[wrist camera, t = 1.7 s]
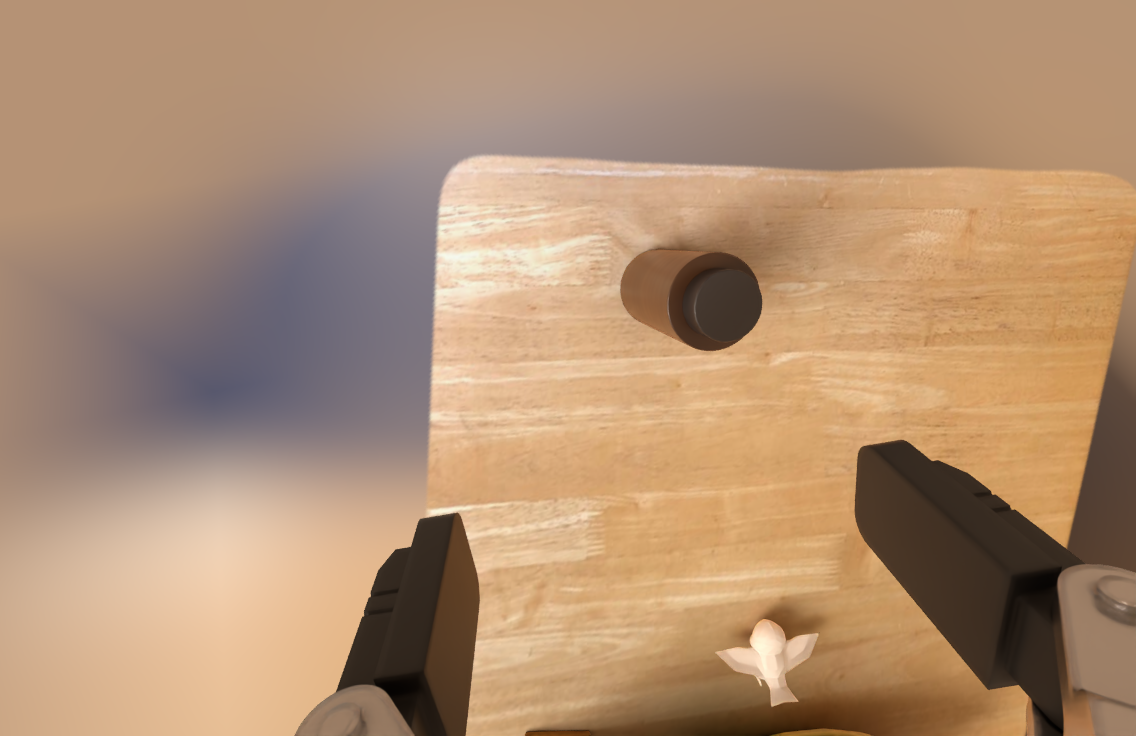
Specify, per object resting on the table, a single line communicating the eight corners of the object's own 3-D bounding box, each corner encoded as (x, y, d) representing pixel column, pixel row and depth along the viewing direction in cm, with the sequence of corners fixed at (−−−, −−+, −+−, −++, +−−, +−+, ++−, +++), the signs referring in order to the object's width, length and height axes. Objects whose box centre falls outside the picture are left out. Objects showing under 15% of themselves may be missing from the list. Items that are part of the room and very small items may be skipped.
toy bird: (815, 601, 41) (853, 665, 37) (800, 637, 43) (834, 700, 39) (710, 619, 39) (738, 688, 36) (701, 655, 42) (727, 722, 38)
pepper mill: (605, 297, 34) (658, 320, 24) (649, 233, 33) (721, 231, 24) (663, 339, 35) (736, 376, 25) (707, 278, 35) (797, 292, 25)
